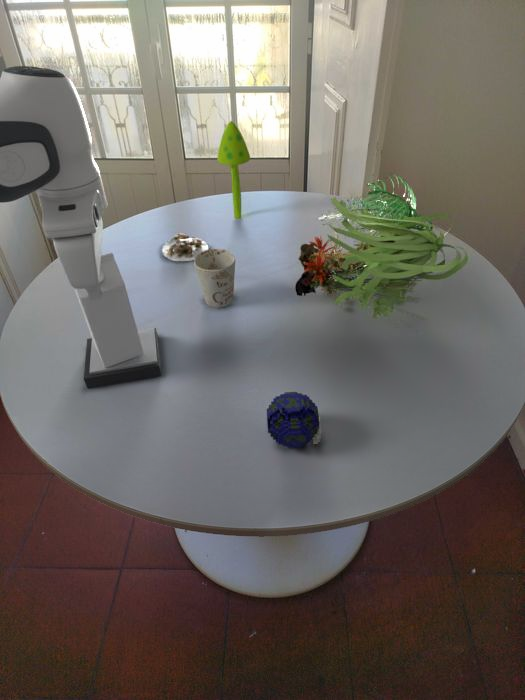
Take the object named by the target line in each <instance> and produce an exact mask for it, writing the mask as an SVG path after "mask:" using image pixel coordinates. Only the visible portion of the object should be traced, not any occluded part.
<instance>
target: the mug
mask: <svg viewBox="0 0 525 700" xmlns="http://www.w3.org/2000/svg"><path fill="white" fill-rule="evenodd" d="M193 265H194V268H195V272H196V275H197V278H198V282H199V285H200V288H201V292H202V295H203V298H204V302H205V304H206V305H207V306H209V307H211V308H214V309H215V308H216V309H217V308H220V309H221V308H224V307H227V306H229V305H230V304H232V303H233V300H234V291H235V290H234V289H235V274H236V273H235V272H236V257H235V254H234V253H233V252H231V251H229V250H228V249H227V250H226V249H221V248H212V249H209V250H207V251H204V252H202V253H200V254H198V255H197V256H196V257H195V259H194V260H193Z"/></svg>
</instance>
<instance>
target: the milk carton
mask: <svg viewBox="0 0 525 700" xmlns="http://www.w3.org/2000/svg"><path fill="white" fill-rule="evenodd" d="M99 284H100V287H101V291H102V297H101V299H98V300H90V299H89V296H88V293H87V291H86V289H74V288H73V290H74V293H75V295H76V298H77V300H78V303H79V306H80V309H81V312H82V314H83V317H84V320H85V323H86V325H87V328H88V331H89V334H90V336H91V338H92V339H93V342H94V345H95V347H96V349H97V351H98V354H99V356H100V358H101V360H102V363H103V365H104V367H105V368H107V367H110V366H112V365H115V364H118V363H121V362H123V361H126V360H129V359H131V358H134V357H137V356H140V355H142V354H144V353H143V349H142V345H141V342H140V338H139V334H138V331H137V330H138V327H137V324H136V320H135V316H134V313H133V308H132V306H131V302H130V299H129V295H128V290H127V287H126V284H125V281H124V279H123V277H122V274H121V271H120V268H119V266H118V264H117V261H116V259H115V255H114V253H113V252H109V253H105V254H102V256H101V261H100V276H99Z"/></svg>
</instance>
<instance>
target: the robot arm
mask: <svg viewBox="0 0 525 700" xmlns="http://www.w3.org/2000/svg"><path fill="white" fill-rule="evenodd" d="M91 135H92V134H91V132H90V128H89V124H88V120H87V117H86V114H85V110H84V108H83V105H82V102H81V99H80V96H79V94H78V91H77V89H76V87H75V85H74V84H73V82H72V80H71V79H70V78H69V77H68V76H67V75H65V74H64V73H62V72H60V71H58V70H55V69H50V68H46V67H38V66H31V65H30V66H27V65H15V66H9V67H7V68H5V69H3V70H2V72H1V75H0V204H2V203H10V202H14V201H17V200H19V199H21V198H23V197H26V196H28V195H30V194H32V193H33V192H35V193H36V196H37V201H38V204H39V207H40V210H41V223H42V225H41V226H42V230H43V233H44V235H45V237H46V238H47V239H52V243H53V247H54V251H55V253H56V256H57V258H58V261H59V263H60V266H61V268H62V270H63V272H64V275H65V277H66V280H67V281H68V283H69V285H70V286H71V287H72V288H73V290H74V289H86V291H87V293H88V296H89V299H90V300H98V299H101V297H102V291H101V287H100V284H99V276H100V261H101V256H102V255H103V251H102V246H103V245H102V244H103V231H104V223H103V219H102V218H103V217H102V216H103V213H104V212H105V211H106V210H107V208H108V199H107V196H106V192H105V188H104V183H103V180H102V176H101V172H100V169H99V166H98V164H97V163H96V161H95V159H94V156H93V150H92V149H93V139H92V136H91Z"/></svg>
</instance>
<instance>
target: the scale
mask: <svg viewBox="0 0 525 700" xmlns="http://www.w3.org/2000/svg"><path fill="white" fill-rule="evenodd" d="M137 331H138V334H139V338H140V342H141V345H142V349H143V353H144V354H142V355H140V356H137V357H134V358H131V359H129V360H126V361H123V362H121V363H118V364H115V365H112V366H110V367H107V368H105V367H104V365H103V363H102V360H101V358H100V356H99V354H98V351H97V349H96V347H95V345H94V342H93V339H92V337H90V338H86V346H85V347H86V348H85V357H84V358H85V359H84V360H85V361H84V367H83V368H84V371H83V381H84V383H85V386H86V388H87V389H94V388H99V387H105V386H111V385H115V384H122V383H128V382H133V381H139V380H145V379H151V378H155V377H162V365H161V363H162V362H161V353H160V352H161V351H160V342H159V334H158V331H157V327H151V328H150V327H149V328H144V329H137Z"/></svg>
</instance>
